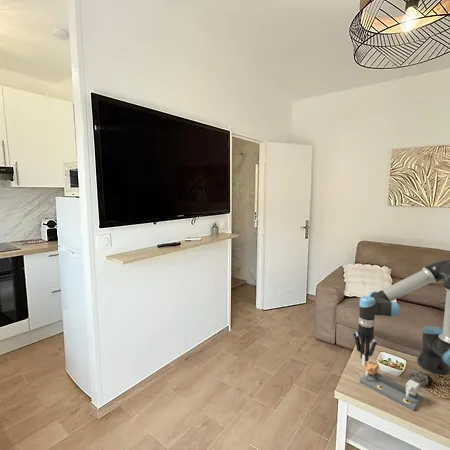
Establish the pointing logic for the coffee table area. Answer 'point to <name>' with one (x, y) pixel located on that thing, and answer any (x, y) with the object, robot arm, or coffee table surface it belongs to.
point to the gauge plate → (394, 390)
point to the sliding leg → (371, 369)
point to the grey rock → (420, 378)
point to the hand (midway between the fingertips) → (364, 365)
